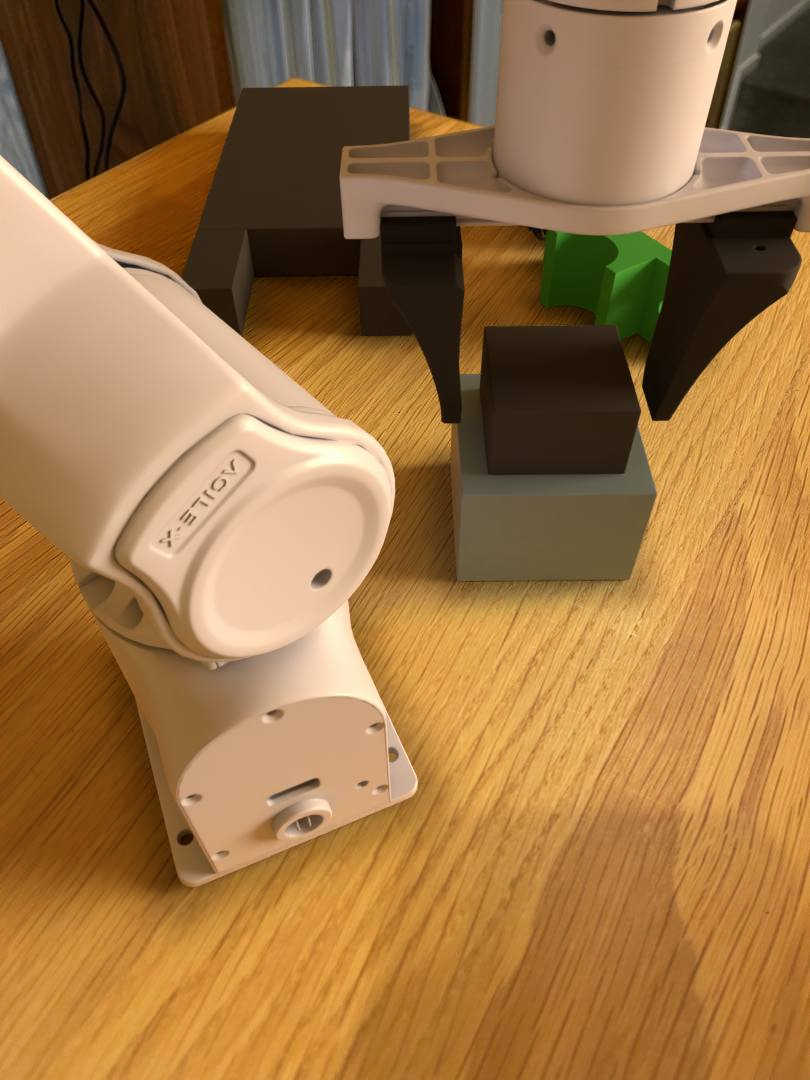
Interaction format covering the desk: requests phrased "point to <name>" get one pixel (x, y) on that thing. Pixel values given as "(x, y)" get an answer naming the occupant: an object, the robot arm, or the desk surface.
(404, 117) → the notched pad
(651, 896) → the desk surface
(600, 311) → the pipe clamp
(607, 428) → the dark brown square block
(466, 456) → the block
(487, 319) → the desk surface
